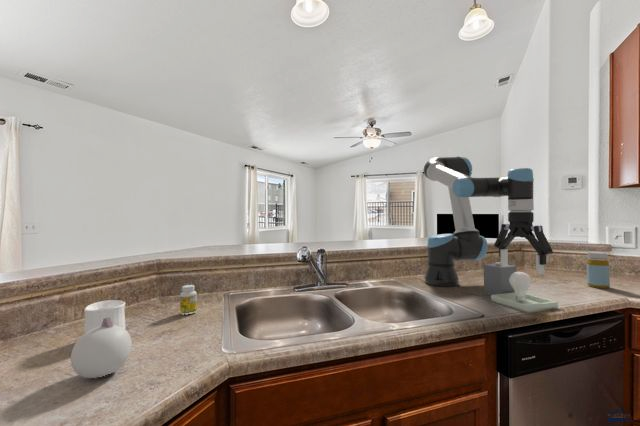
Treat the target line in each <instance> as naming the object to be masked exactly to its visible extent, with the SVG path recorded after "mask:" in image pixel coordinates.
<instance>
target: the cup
mask: <svg viewBox="0 0 640 426" xmlns="http://www.w3.org/2000/svg"><path fill="white" fill-rule="evenodd" d="M125 310H126V302H125V301H124V300H120V299H107V300H102V301H101V300H100V301H97V302H93V303H91V304H89V305H87V306H86V307H85V308H84V309H83V311H84V320H85V321H84V329H83V335H84V334H85V333H86V332H88V331H90V330H91V329H94V328H96V327H99V326H102V322H103V319H104V318H106V317H110V318H111V322H112V325H116V326H120V327H122V328H124V329H125V330H126V316H125Z"/></svg>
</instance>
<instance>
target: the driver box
mask: <svg viewBox="0 0 640 426" xmlns="http://www.w3.org/2000/svg"><path fill="white" fill-rule="evenodd" d="M482 265H483V267H482V268H483V292H484V293H483V294H485V295H489V296H491V295H496V294H505V293H513V292H515V291H514V289H513V287H512V286H511V284H510V282H509V278H510V276H511V274H513V273H514V272H518V271H517V266H516V265H512V264H508V266H505V267H501V261H498V262H497V261H496V262H494V263H484V264H482Z"/></svg>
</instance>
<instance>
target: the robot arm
mask: <svg viewBox="0 0 640 426" xmlns="http://www.w3.org/2000/svg"><path fill="white" fill-rule="evenodd" d="M423 166H424V167H423V174H424V176H425V177H426V178H427V179H428V180H429V181H433V182H436V181H437V182H439V183H440V184H441V185H444V186H446V187H447V188H448V194H449V200H450V205H451V210H452V211H451V212H452V216H453V223H454V229H455V231H454V232H453V233H441V234H440V233H439V234H433V235H431V236H428V238H427V245H426V246H427V266H428V267H427V269H426V273H425V275H424V282H425V283H426V284H427V285H431V286H436V287H437V286H438V287H456V286H459V284H460V280H459V279H460V278H459V277H458V274H457V272H456V269H455V268H456V267H455V262H456V261H471V262H472V261H480V260H482V259H484V258H485V256H486V255H487V252H488V241H487V238H486V237H484V236H482V235H480V231H479V230H478V229H477V228H475V223H474V217H473V211H472V207H471V202H470V201H471V200H470V198H475V197H477V198H484V197H488V198H489V197H494V198H501V197H507V200H508V201H507V203H508V204H507V205H508V206H507V211H509V212H508V214H507V220H508V223H503V224H501V228H500V231H499V233H498V236H497V238H496V240H495V242H494V244H493V245H494V247H495V248H498V252H499V253H498V257H499V258H500V262H501V267H505V266H508V265H509V252H508V251H509V250H508V246H510V243H512V241H513V240H514V239H516V238H524V239H526V240H527V241H528V242H529V244H530V245H531V246H532V248H533V249H534V250H535V252H536V253H537V254H535V274H536V275H544V274H545V265H546V264H547V256H548V255H551V254H554V251H553V249H552V247H551V245H550V243H549V241H548V239H547V237H546V235H545V233H544V228H543V225H533V222H534V220H535V219H534V217H535V216H534V212H532V211H534V208H535V207H534V182H535V181H534V180H535V179H534V172H533V169H532V168H528V167H523V168H520V167H519V168H514V169H513V168H511V169H510V170H508V172H507V175H506V176H501V177H472V174H473V172H472V171H473V164H472V163H471V161H470V160H469V158H467V157H464V156H449V157H448V156H446V157H445V156H444V157H443V156H439V157H438V156H437V157H433V158H431V159H428V161H426V163H425V164H424V165H423ZM533 232H534V233H533Z"/></svg>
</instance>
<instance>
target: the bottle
mask: <svg viewBox="0 0 640 426" xmlns="http://www.w3.org/2000/svg"><path fill="white" fill-rule="evenodd" d="M586 277H587V279H586V280H587V286H589V287H592V288H597V289H609V288H610V287H611V285H610V284H611V283H610V282H611V281H610V280H611V279H610V264H609V260H608V252H603V251H587V260H586Z"/></svg>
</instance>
